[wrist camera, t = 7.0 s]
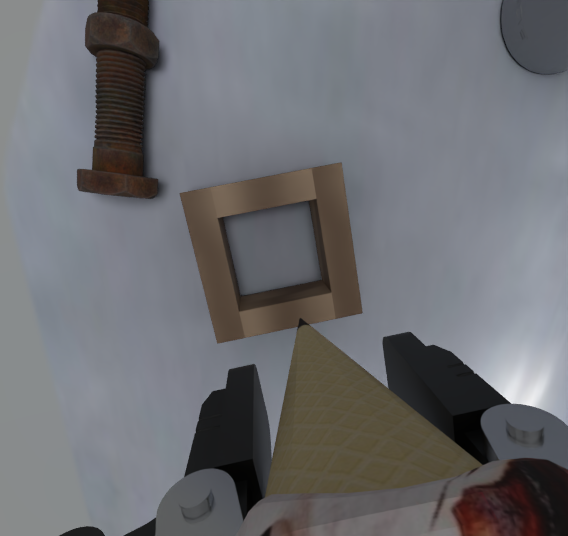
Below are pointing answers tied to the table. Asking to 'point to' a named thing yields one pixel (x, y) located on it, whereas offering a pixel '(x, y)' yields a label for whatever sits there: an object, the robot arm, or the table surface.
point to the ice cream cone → (388, 465)
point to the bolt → (119, 98)
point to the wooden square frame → (285, 301)
